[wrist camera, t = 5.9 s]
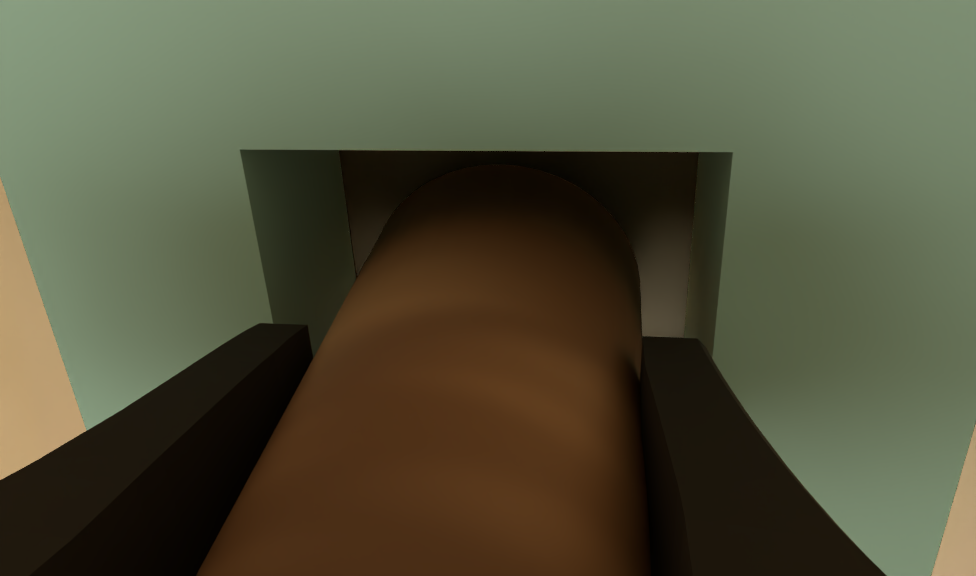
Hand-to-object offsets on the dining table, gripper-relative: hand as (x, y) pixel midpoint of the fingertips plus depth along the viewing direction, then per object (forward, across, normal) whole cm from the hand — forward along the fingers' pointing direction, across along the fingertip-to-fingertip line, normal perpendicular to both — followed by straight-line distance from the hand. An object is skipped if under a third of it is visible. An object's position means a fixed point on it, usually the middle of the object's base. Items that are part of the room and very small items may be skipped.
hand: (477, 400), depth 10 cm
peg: (+3, 0, 0) cm, 3 cm away
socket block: (+4, 0, 0) cm, 4 cm away
